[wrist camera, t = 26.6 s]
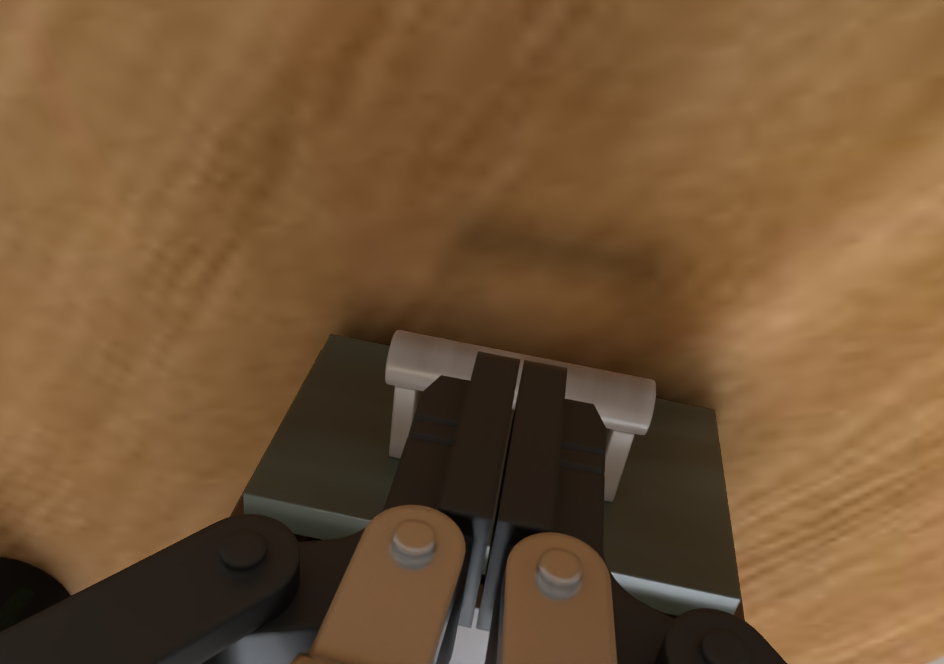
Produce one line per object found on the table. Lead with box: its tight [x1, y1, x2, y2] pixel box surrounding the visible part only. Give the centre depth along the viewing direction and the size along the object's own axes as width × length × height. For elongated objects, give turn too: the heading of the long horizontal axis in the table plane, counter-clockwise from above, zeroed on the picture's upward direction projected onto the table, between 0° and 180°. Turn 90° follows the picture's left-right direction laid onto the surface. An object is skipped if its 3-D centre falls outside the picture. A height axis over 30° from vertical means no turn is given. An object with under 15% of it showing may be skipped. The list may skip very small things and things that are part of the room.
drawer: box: [243, 330, 741, 619], centre depth 28 cm, size 20×13×8 cm
